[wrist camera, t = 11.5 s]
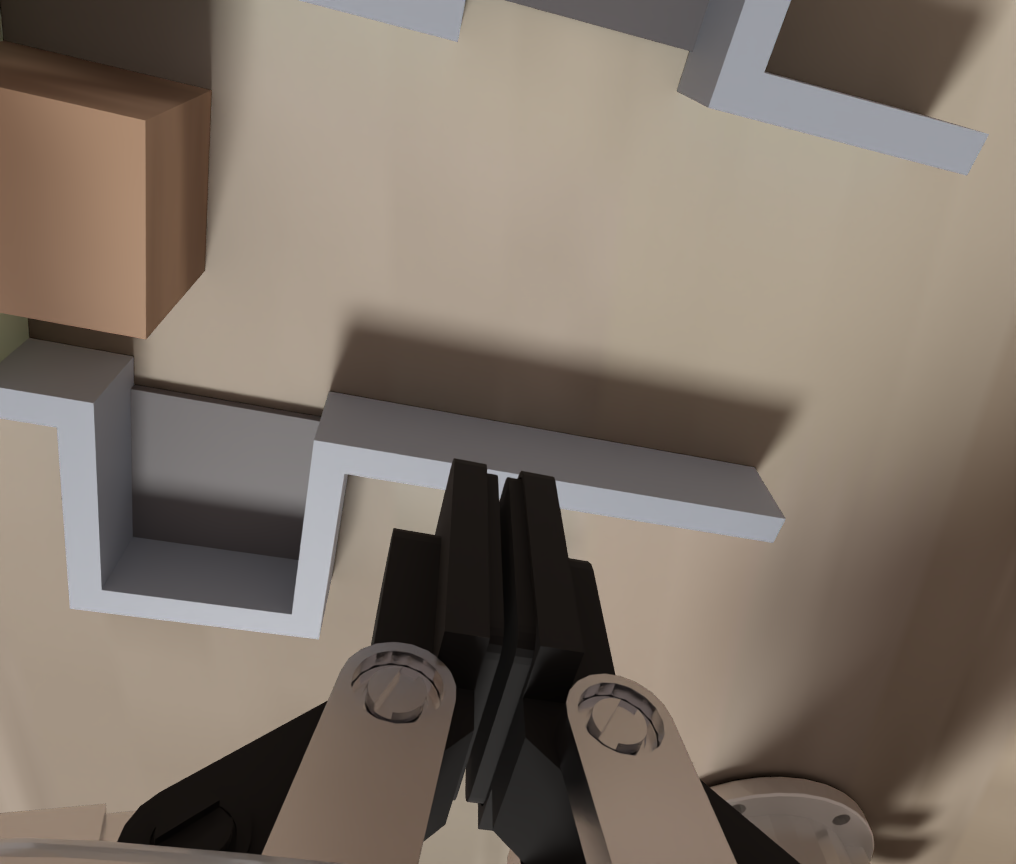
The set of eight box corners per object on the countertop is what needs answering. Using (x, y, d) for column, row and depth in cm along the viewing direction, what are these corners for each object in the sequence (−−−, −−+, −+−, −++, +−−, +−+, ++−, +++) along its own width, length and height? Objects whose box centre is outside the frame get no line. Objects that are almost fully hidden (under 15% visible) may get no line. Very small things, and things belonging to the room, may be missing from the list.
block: (212, 89, 20) (145, 120, 16) (205, 269, 22) (146, 339, 18) (5, 40, 19) (-126, 59, 15) (22, 233, 21) (-87, 297, 17)
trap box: (1075, -200, 18) (1180, -230, 15) (677, 627, 31) (697, 686, 28) (-117, -639, 13) (-253, -784, 11) (16, 536, 27) (-31, 596, 24)
